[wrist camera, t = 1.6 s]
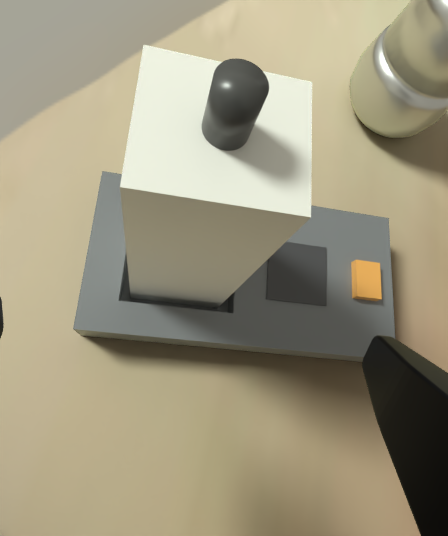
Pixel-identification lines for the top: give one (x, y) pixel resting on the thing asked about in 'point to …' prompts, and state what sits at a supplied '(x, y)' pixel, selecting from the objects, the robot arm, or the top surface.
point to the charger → (211, 174)
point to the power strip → (254, 291)
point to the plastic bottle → (404, 72)
